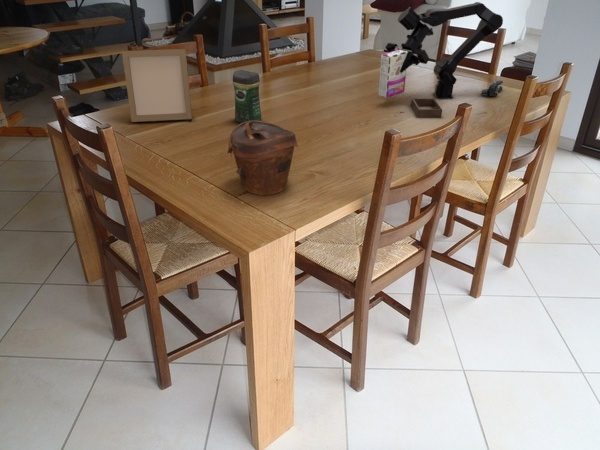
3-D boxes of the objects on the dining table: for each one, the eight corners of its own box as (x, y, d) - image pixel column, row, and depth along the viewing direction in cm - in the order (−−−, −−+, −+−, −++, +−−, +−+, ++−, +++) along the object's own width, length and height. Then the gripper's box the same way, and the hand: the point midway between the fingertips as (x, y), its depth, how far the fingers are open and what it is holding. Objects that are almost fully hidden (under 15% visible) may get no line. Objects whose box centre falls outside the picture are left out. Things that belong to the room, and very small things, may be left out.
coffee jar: (265, 120, 188) (263, 71, 178) (251, 127, 183) (249, 75, 173) (245, 115, 193) (242, 66, 183) (231, 121, 187) (228, 71, 178)
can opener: (494, 99, 211) (497, 86, 208) (478, 96, 215) (481, 83, 212) (508, 90, 223) (511, 77, 220) (493, 87, 227) (495, 74, 224)
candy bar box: (394, 89, 208) (399, 49, 199) (404, 92, 205) (409, 51, 196) (377, 95, 202) (380, 53, 193) (386, 98, 199) (390, 56, 190)
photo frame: (192, 121, 187) (184, 52, 174) (132, 124, 184) (119, 54, 171) (192, 108, 200) (185, 43, 187) (136, 111, 197) (125, 45, 184)
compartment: (432, 105, 204) (433, 98, 202) (441, 117, 192) (442, 109, 190) (410, 105, 204) (411, 98, 202) (417, 117, 192) (418, 109, 190)
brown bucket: (243, 167, 153) (239, 111, 144) (305, 176, 149) (306, 118, 139) (218, 194, 139) (213, 132, 129) (287, 204, 134) (286, 141, 125)
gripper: (442, 54, 200) (421, 87, 200) (405, 46, 212) (386, 77, 212) (432, 36, 191) (411, 70, 191) (395, 29, 203) (374, 61, 203)
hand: (395, 70), depth 200 cm, fingers closed on candy bar box, 5 cm apart
